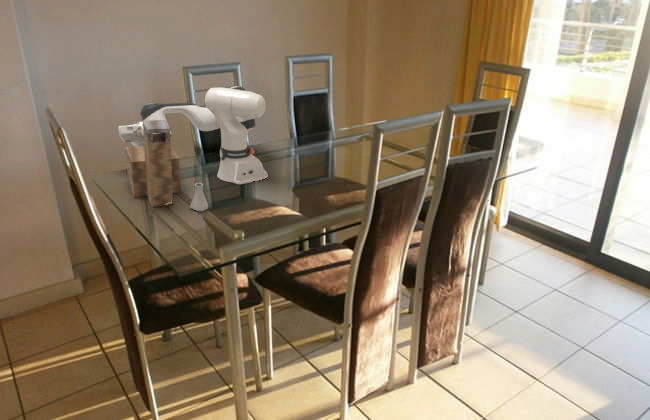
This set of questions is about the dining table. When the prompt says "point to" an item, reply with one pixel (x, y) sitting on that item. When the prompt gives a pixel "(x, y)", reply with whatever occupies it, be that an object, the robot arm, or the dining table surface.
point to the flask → (199, 199)
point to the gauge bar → (141, 127)
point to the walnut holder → (154, 165)
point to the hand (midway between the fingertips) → (145, 126)
